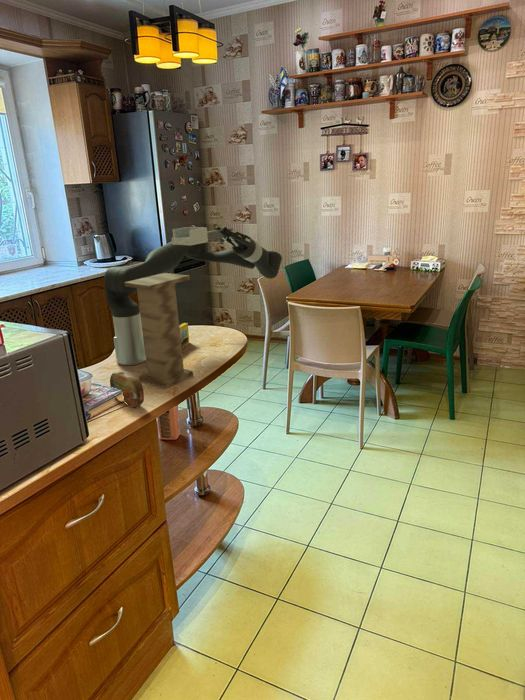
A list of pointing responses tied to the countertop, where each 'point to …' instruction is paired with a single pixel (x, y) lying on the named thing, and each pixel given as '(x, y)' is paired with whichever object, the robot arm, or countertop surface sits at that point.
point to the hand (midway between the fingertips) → (219, 229)
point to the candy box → (184, 334)
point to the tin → (128, 388)
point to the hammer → (195, 235)
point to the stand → (161, 329)
